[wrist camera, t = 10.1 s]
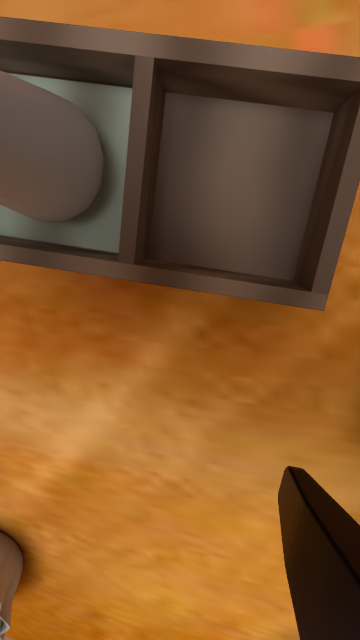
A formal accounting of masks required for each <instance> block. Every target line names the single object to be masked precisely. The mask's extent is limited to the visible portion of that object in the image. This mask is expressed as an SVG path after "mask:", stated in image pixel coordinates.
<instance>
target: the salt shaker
mask: <svg viewBox="0 0 360 640" xmlns="http://www.w3.org/2000/svg"><path fill="white" fill-rule="evenodd" d="M104 165H105V158H104V154H103V151H102V147H101V143H100V140H99V136H98V133H97V131H96V129H95V127H94V126H93V125H92V124H91V123H90V121H89V120H88V119H87V118H86V117H85V115H84V114H83V113H82V112H81V110H80V109H79V108H78V107H77V106H76V104H74V103H72V102H70V101H68V100H66V99H64V98H62V97H60V96H58V95H56V94H54V93H52V92H50V91H48V90H45V89H43V88H41V87H38V86H36V85H34V84H31V83H29V82H27V81H24V80H22V79H20V78H17V77H15V76H13V75H10V74H8V73H6V72H3V71H1V70H0V205H1V206H4V207H6V208H9V209H11V210H13V211H16V212H18V213H20V214H23V215H25V216H27V217H29V218H32V219H34V220H36V221H39V222H65V221H68V220H70V219H72V218H73V217H75V216H77V215H78V214H80V213H82V212H83V211H85V210H87V209H88V208H89V207H90V205H91V204H92V202H93V201H94V199H95V197H96V196H97V194H98V193H99V191H100V189H101V188H102V182H103V174H104Z"/></svg>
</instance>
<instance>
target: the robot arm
mask: <svg viewBox="0 0 360 640" xmlns="http://www.w3.org/2000/svg"><path fill="white" fill-rule="evenodd" d="M278 505H279V515H280V524H281V534H282V543H283V553H284V561H285V568H286V573H287V579H288V584H289V588H290V593H291V598H292V603H293V608H294V612H295V617H296V622H297V627H298V632H299V636H300V640H360V525H359V524H358V523H357V522H356V521H355V520H354V519H353V518H352V517H351V516H350V515H349V514H348V513H347V512H346V511H345V510H344V509H343V508H342V507H341V506H340V505H339V504H338V503H337V502H336V501H335V500H334V499H333V498H332V497H331V496H330V495H329V494H328V493H327V492H326V491H325V490H324V489H323V488H322V487H321V486H320V485H319V484H318V483H317V482H316V481H315V480H314V479H313V478H312V477H311V476H310V475H309V474H308V473H307V472H306V471H305V470H304V469H302V468H297V467H292V466H288V467H286V469H285V471H284V474H283V478H282V481H281V485H280V488H279V492H278Z"/></svg>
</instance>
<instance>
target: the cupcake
mask: <svg viewBox="0 0 360 640" xmlns="http://www.w3.org/2000/svg"><path fill="white" fill-rule="evenodd" d="M22 570H23V556H22V553H21V551H20V549H19V547H18V546H17V544H16V543H15V542H14V541H13V540H12V539H11V538H10V537H8V536H7V535H5V534H4V533H2V532H0V640H4V636H5V632H6V631H8V630H9V628H10V622H11V608H12V600H13V598H14V595H15V592H16V589H17V586H18V583H19V580H20V577H21V574H22Z"/></svg>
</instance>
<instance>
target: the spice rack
mask: <svg viewBox="0 0 360 640" xmlns="http://www.w3.org/2000/svg"><path fill="white" fill-rule="evenodd" d="M0 70H1V71H3V72H6V73H8V74H10V75H13V76H15V77H17V78H20V79H22V80H24V81H27V82H29V83H31V84H34V85H36V86H38V87H41V88H43V89H45V90H48V91H50V92H52V93H54V94H56V95H58V96H60V97H62V98H64V99H66V100H68V101H70V102H72V103H74V104H76V106H77V107H78V108H79V109H80V110H81V112H82V113H83V114H84V115H85V117H86V118H87V119H88V120H89V121H90V123H91V124H92V125H93V126H94V127H95V129H96V131H97V133H98V136H99V140H100V143H101V147H102V151H103V154H104V158H105V165H104V174H103V182H102V188H101V189H100V191H99V193H98V194H97V196H96V197H95V199H94V201H93V202H92V204H91V205H90V207H89V208H88V209H87V210H85V211H83V212H82V213H80V214H78V215H77V216H75V217H73V218H72V219H70V220H68V221H65V222H39V221H36V220H34V219H32V218H29V217H27V216H25V215H23V214H20V213H18V212H16V211H13V210H11V209H9V208H6V207H4V206H1V205H0V260H2V261H8V262H15V263H21V264H27V265H34V266H40V267H47V268H53V269H59V270H66V271H72V272H78V273H85V274H91V275H98V276H104V277H110V278H117V279H123V280H129V281H136V282H142V283H149V284H155V285H161V286H168V287H174V288H180V289H187V290H193V291H200V292H206V293H212V294H219V295H225V296H231V297H238V298H244V299H250V300H257V301H263V302H270V303H276V304H282V305H289V306H295V307H301V308H308V309H314V310H321V311H324V308H325V305H326V301H327V298H328V294H329V290H330V287H331V283H332V279H333V276H334V272H335V268H336V265H337V261H338V258H339V254H340V250H341V247H342V243H343V239H344V236H345V232H346V229H347V225H348V221H349V218H350V214H351V210H352V207H353V203H354V199H355V196H356V192H357V189H358V185H359V181H360V57H353V56H344V55H335V54H326V53H317V52H309V51H300V50H291V49H282V48H273V47H265V46H256V45H247V44H238V43H229V42H220V41H212V40H203V39H194V38H185V37H176V36H168V35H159V34H150V33H141V32H132V31H124V30H115V29H106V28H97V27H88V26H80V25H71V24H62V23H53V22H44V21H35V20H27V19H18V18H9V17H0Z"/></svg>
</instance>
